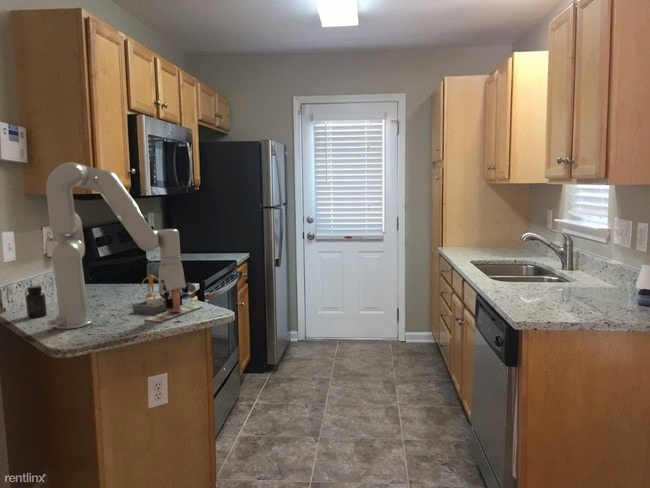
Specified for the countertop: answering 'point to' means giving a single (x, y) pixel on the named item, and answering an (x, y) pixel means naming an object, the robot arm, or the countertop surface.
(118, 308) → the countertop surface
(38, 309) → the supplement bottle
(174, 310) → the pink cylinder
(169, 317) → the track
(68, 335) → the countertop surface
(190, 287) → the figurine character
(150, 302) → the die
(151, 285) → the figurine
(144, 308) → the tray
